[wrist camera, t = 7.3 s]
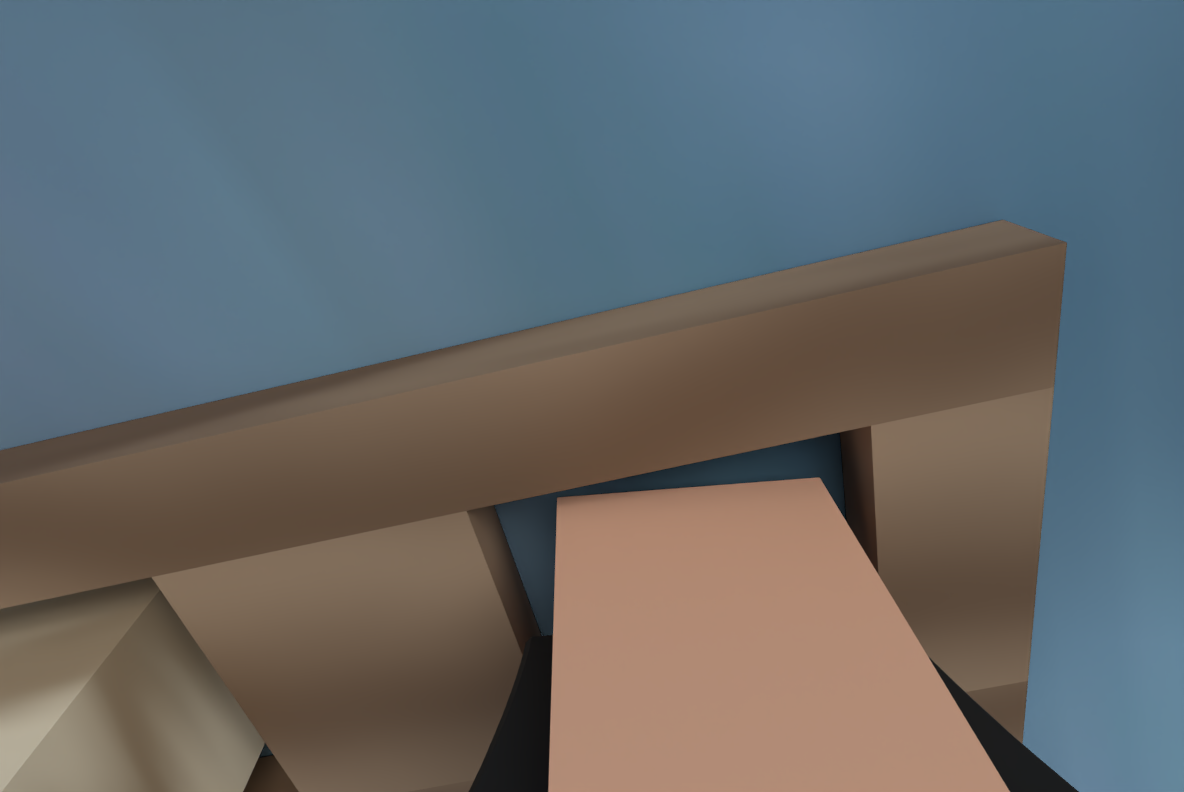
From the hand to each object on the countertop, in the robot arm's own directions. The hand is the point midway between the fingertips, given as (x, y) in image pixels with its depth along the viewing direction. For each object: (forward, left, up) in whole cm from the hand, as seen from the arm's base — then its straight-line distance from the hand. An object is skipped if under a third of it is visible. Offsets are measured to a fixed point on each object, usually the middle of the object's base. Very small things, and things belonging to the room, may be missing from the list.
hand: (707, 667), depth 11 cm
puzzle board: (0, -6, -3) cm, 7 cm away
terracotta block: (0, 0, -2) cm, 2 cm away
